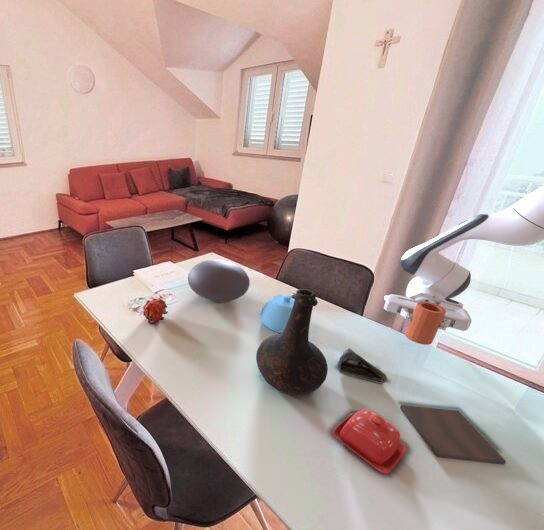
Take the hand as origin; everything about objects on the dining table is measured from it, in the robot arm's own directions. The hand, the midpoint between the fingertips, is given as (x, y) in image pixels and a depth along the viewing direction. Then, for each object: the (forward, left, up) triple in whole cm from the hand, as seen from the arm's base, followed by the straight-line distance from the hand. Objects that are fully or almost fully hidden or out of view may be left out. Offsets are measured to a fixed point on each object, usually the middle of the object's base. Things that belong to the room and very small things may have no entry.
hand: (425, 323), depth 92 cm
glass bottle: (+39, +21, -13) cm, 46 cm away
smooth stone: (+61, -23, -13) cm, 66 cm away
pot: (0, -1, -6) cm, 6 cm away
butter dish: (+24, +37, -13) cm, 46 cm away
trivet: (+5, +29, -12) cm, 32 cm away
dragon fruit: (+82, +1, -13) cm, 83 cm away
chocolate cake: (+18, +11, -13) cm, 24 cm away
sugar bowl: (+37, -8, -13) cm, 40 cm away
